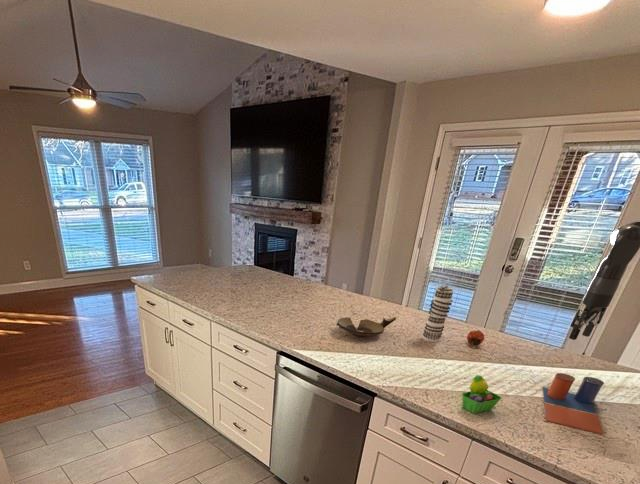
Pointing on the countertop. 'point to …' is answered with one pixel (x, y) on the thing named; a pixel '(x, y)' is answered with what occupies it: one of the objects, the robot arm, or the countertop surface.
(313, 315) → the countertop surface
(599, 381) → the blue canister
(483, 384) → the fruit basket
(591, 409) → the blue mat
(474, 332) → the pomegranate
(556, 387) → the terracotta canister
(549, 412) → the terracotta mat
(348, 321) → the oil lamp
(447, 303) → the striped cylindrical tower
